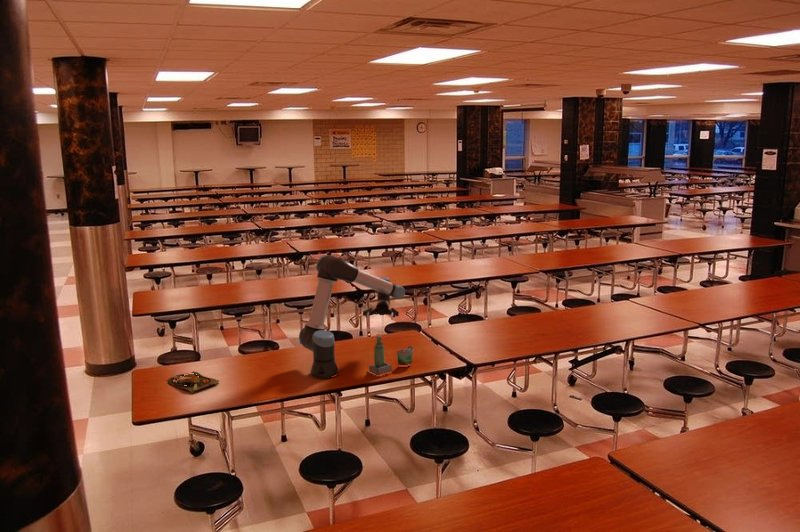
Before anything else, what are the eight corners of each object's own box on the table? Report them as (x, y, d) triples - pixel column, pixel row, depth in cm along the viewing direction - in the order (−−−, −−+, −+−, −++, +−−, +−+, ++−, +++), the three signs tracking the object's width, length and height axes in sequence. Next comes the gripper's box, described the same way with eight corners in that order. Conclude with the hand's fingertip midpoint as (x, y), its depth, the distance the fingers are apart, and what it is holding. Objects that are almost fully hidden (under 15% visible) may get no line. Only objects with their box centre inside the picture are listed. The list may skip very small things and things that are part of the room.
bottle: (372, 371, 342) (371, 334, 337) (380, 368, 345) (380, 332, 341) (378, 373, 337) (377, 336, 333) (386, 371, 340) (386, 334, 336)
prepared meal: (162, 376, 329) (193, 366, 342) (163, 382, 330) (193, 372, 343) (191, 391, 311) (221, 380, 325) (191, 397, 312) (222, 386, 325)
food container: (405, 370, 345) (405, 353, 343) (396, 367, 349) (396, 350, 347) (418, 363, 355) (418, 347, 353) (409, 361, 358) (409, 345, 356)
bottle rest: (366, 372, 342) (366, 363, 341) (381, 368, 348) (381, 360, 347) (377, 377, 334) (377, 369, 333) (392, 373, 340) (391, 365, 339)
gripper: (403, 313, 362) (402, 324, 341) (361, 313, 363) (357, 323, 342) (403, 301, 360) (402, 311, 340) (361, 301, 361) (357, 310, 341)
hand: (379, 317), depth 341 cm, fingers open, 13 cm apart
